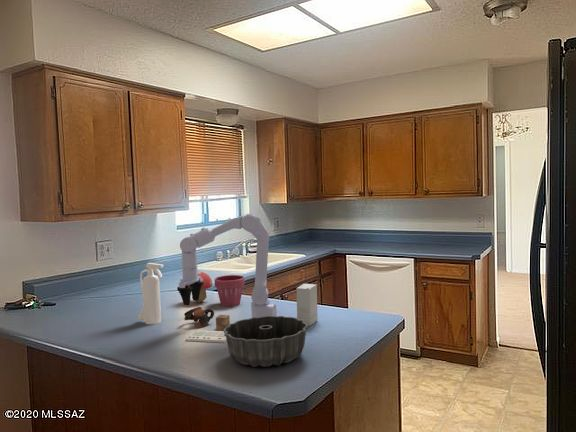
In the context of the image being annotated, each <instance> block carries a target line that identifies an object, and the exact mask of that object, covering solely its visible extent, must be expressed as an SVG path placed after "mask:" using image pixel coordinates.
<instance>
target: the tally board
mask: <svg viewBox="0 0 576 432" xmlns="http://www.w3.org/2000/svg"><path fill="white" fill-rule="evenodd" d="M185 341H186V342H205V343H206V342H207V343H221V344H222V343H227V339H226V336H224V331H223V330H204V329H203V330H202V329H198V330H196V331H195V332H192V334H190V335H188V336H187V337H186V338H185Z"/></svg>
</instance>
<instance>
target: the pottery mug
mask: <svg viewBox="0 0 576 432" xmlns="http://www.w3.org/2000/svg"><path fill="white" fill-rule="evenodd" d="M209 313H210V315H209ZM183 315H184V318H183V319H184V321H194V326H195V328H196V329H199V328H202V327H206V326H207V327H208V326H209V323H210V321H211V319H213V318H214V316H215V311H214V309H213V308H207V309H202V306H198V307H194V308H192V309H188V310H187V311H185V313H184V314H183ZM208 315H209V316H208Z"/></svg>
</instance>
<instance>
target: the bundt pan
mask: <svg viewBox="0 0 576 432" xmlns="http://www.w3.org/2000/svg"><path fill="white" fill-rule="evenodd" d="M308 327H309V326H308V325H307V324H306V323H304V321H303V320H299V319H297V317H293V316H284V315H279V316H278V315H277V316H263V317H253V318H252V317H250V318H246V319H240V320H237V321H235V322H233V323H230V324H229V325H228V327H226V328H224V336H226V339H227V341H226V343H227V348H228V352H229V356H230V357H231V358H232V359H233V360H234V361H235V362H237V363H240V364H242V365H245V366H251V367H253V368H256V367H258V366H260V367H263V368H268V367H270V366H272V365H274V366H276V367H279V366H280V365H281V364H287V363H290V362H291V361H293V360H296V359H298V358H299V357H300V356H301V355H302V353H303V350H304V348H305V344H306V334H307V328H308Z"/></svg>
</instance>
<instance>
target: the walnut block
mask: <svg viewBox="0 0 576 432" xmlns="http://www.w3.org/2000/svg"><path fill="white" fill-rule="evenodd" d="M230 321H231V320H230V314H218V315H217V316H216V317H215V331H224V328H226V327H228V325H229V324H231V323H230Z"/></svg>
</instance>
